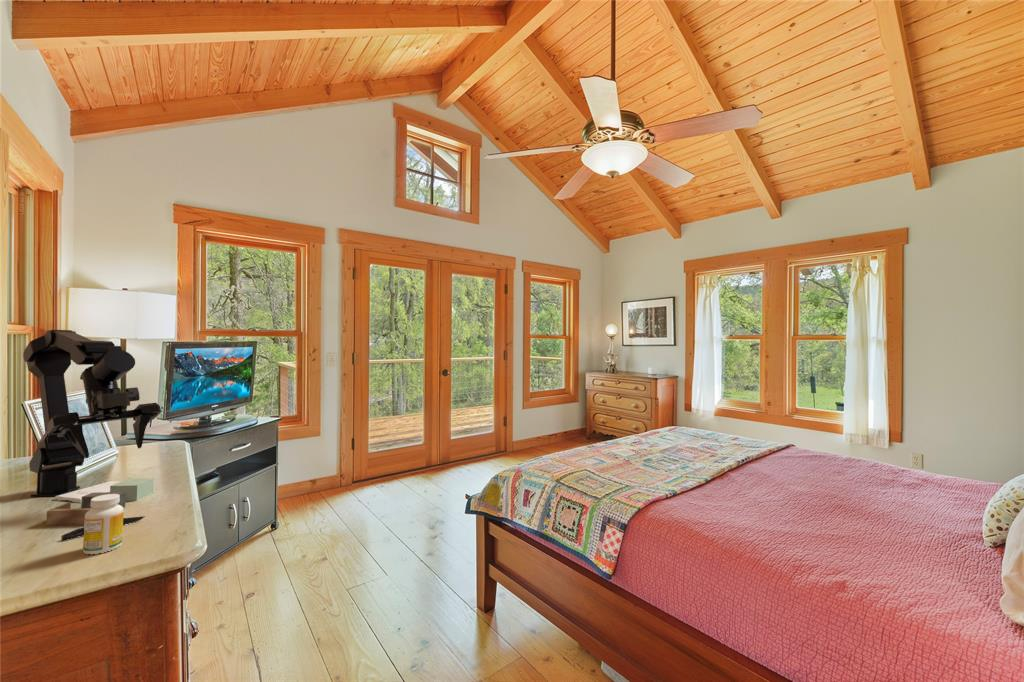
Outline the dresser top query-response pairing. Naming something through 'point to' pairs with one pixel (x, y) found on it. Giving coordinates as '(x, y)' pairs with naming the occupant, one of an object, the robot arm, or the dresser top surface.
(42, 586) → the dresser top surface
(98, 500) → the supplement bottle
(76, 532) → the folding knife
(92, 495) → the dark gray rectangular block
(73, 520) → the frame
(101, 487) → the external hard drive
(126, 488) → the sage block
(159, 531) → the dresser top surface
